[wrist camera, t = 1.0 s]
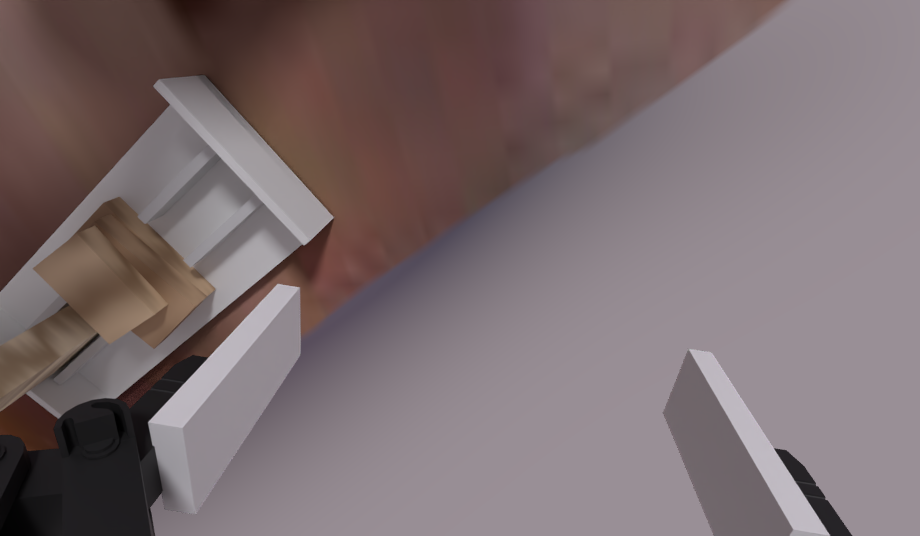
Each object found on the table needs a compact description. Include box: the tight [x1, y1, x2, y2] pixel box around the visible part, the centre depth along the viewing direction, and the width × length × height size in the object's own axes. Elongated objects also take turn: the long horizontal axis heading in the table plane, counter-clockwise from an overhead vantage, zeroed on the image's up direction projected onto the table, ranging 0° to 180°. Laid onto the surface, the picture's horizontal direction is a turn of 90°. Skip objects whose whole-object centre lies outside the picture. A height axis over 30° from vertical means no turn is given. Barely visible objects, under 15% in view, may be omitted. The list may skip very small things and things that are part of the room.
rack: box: [0, 75, 334, 419], centre depth 48 cm, size 16×37×6 cm, turn 128°
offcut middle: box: [89, 214, 207, 349], centre depth 47 cm, size 11×7×2 cm
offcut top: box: [32, 226, 168, 344], centre depth 45 cm, size 9×6×2 cm
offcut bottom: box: [71, 197, 215, 296], centre depth 48 cm, size 12×8×2 cm, turn 39°
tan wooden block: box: [0, 305, 99, 411], centre depth 45 cm, size 4×10×17 cm, turn 128°
